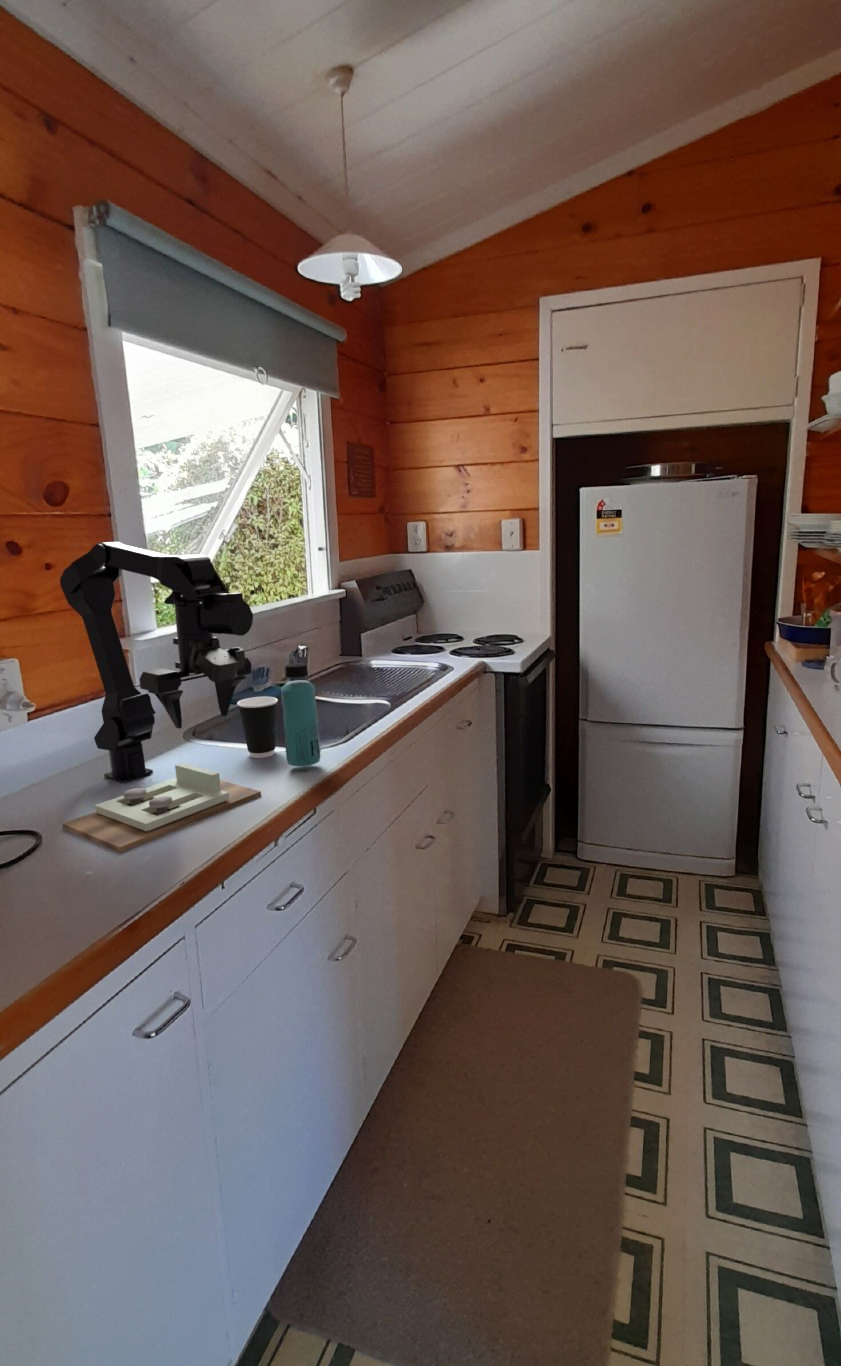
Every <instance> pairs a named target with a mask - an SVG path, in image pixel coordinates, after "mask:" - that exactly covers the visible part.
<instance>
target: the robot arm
mask: <svg viewBox="0 0 841 1366" xmlns="http://www.w3.org/2000/svg"><path fill="white" fill-rule="evenodd" d="M122 570H123V571H127V572H130V573H131V572H132V573H135V574H137V575H138V574H139V575H142V576H147V577H149V578H153V579H155V580H158V582H159V584H160V585H161V586H163V587H165V588H167V589H169V590H171V593H170V594H169V595H168V596H167V597H166V598H165V599H164V601H163V602H164V604H166V605H174V611H175V612H174V614H175V615H174V616H175V625H176V636H177V637H172V643H173V645H177V647H178V649H177V650H178V657H179V659H178V660H179V661H175V662H174V666H175V669H179V670H171V669H167V668H163V667H162V668H155V669H149V670H144V671H143V672H142V673H141V675H140V676H139V687H140V689H141V690H146V691H147V692H146V693H142V692H140V690H138V689H137V688H136V687H135V685H134V682H133V678H132V676H131V672H130V669H129V666H128V662H127V658H126V655H125V652H124V650H123V649H124V648H123V646H122V642H121V639H120V636H119V631H118V628H117V626H116V622H115V618H114V616H113V612H112V610H113V605H114V602H115V598H116V590H115V583H117V581H118V580H119V579H120V577H122ZM59 584H60V587H61V590H62V592H63V594H64V596H65V599H66V602H67V604H68V605H69V607H71V608H72V609H73V610H74V611H75V612H76V613H77V614H78V615H79V616H80V617H81V618H82V620H83V624H84V628H85V631H86V633H87V636H88V641H89V643H90V647H91V650H92V653H93V656H94V660H95V664H96V667H97V670H98V674H99V676H100V680H101V684H102V686H103V689H104V692H105V693H104V694H105V695H104V698H103V699H104V700H103V704H102V706H101V707H102V708H101V716H102V721H103V723H102V725H101V726H100V728H99V729H98V731H97V732H96V734H95V736H94V737H93V739H94V743H95V745H96V747H97V749H99V750H103V751H108V756H109V763H110V772H106V773H104V774H103V777H104V778H106V779H110V780H113V781H116V782H120V783H127V782H129V781H132V780H135V779H138V778H142V777H145V776H148V775H150V774H154V770H153V769H151V768H146V763H145V753H144V748H143V741H147V740H151V739H152V735H153V728H154V725H155V723H156V719H155V715H156V711H155V709H154V707H153V704H152V700H151V696H150V695H149V693H150V694H153V695H155V696H156V698H157V700H158V701H159V702H160V703H161V704H162V706H163V708H164V709H165V711H166V713H167V714H168V716H169V718H170V719H171V721H172V724H173V725H174V726H175V728H176V729H179V730H180V729H182V726H183V725H182V724H183V723H182V722H183V719H182V707H181V696H182V694H183V693H184V690H182V689H179V688H180V687H181V685H182V683H183V682H187V681H192V680H197V679H200V678H201V679H202V678H205V677H207V678H208V680H209V681H211V682H214V686H215V692H216V697H217V703H218V710H219V711H220V714H221V716H222V717H227V715H228V713H229V709H230V706H231V703H232V700H233V695H234V693H235V691H236V688H237V686H238V685H239V684H240V683H241V682H242V681H243V680H246V679H247V675H250V674H253V665H252V662H251V661H250V659H249V658H248V657H246V654H245V649H244V648H242V647H241V646H234V647H231V648H230V649H229V648H227V649H222V648H221V645H220V640H219V637H218V636H214V634H215V635H216V634H217V635H225V636H226V635H229V636H241V637H242V636H245V635H247V633H249V632H250V630H251V628H252V625H253V621H254V613H253V611H252V608H251V606H250V605H249V603H248V602H247V601H245V600H244V595H243V593H242V592H232V593H230V591H229V589H228V588H227V586H226V584H225V583H224V581H223V580H222V579H221V577H220V575H219V573H218V572H217V570H216V569H215V567H214V565H213V563H212V560H211V558H210V557H209V556H207V555H205V554H166V553H161V552H157V551H153V550H149V549H144V548H141V547H140V548H139V547H136V546H132V545H127V544H124V543H122V542H120V541H107V542H106V541H105V542H98V543H97V544H94V545H93V546H92V547H91V549H90V550H89V551H88V552H87V553H85V554H83V555H82V556H80V557H78V558H77V559H75V560H74V561H73V562H71V563H70V564H69V566H67V567H66V568H64V569H63V572H62V574H61V576H60V578H59Z"/></svg>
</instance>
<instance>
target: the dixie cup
mask: <svg viewBox="0 0 841 1366" xmlns="http://www.w3.org/2000/svg"><path fill="white" fill-rule="evenodd" d="M278 701H279V700H278V698H276V697H273V696H254V697H248V698H244V699H240V700H238V701H237V703H236V705H237V706H238V708H239V714H240V718H241V723H242V729H243V733H244V737H245V742H246V748H247V751H248V753H249V756H250V757H251V758H254V759H263V758H264V759H265V758H268V757H272V756H273V755H274V754H275V749H276V740H277V738H276V737H277V707H278V705H277V703H278Z"/></svg>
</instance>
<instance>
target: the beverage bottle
mask: <svg viewBox="0 0 841 1366" xmlns="http://www.w3.org/2000/svg"><path fill="white" fill-rule="evenodd" d="M284 668H285V669H284V675H285V677H286V678H302V677H306V676H307V677H308V675H309V671H308V666H307V663H305V662H294V663H289V664H286V665H285V667H284ZM280 693H281V705H282V716H283V721H282V722H283V732H284V733H283V734H284V735H283V736H284V742H285V743H284V750H285V755H286V761H287V764H288V765H289V766H292V767H293V766H294V767H309V766H312V765H316V764H318V763H319V762H320V761H321V754H322V753H321V746H320V736H319V733H320V730H319V723H318V722H319V721H318V715H319V714H318V709H317V708H318V707H317V702H316V686H315V685H314V684H313V683H312V682H311V681H309V680H303V679H298V680H297V679H295V680H290V681H287V682H286V683H285V684H283V686H282V687H281V689H280Z"/></svg>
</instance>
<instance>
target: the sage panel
mask: <svg viewBox="0 0 841 1366" xmlns="http://www.w3.org/2000/svg"><path fill="white" fill-rule="evenodd" d="M174 769H175V776H176V777H175V778H172V779H168V780H165V781H162V782H159V783H157V784H154V785H151V786H148V787H145V788H143V789H146V795H145V796H144V797H141V800H143V801H145V800H148V799H151V798H153V799H154V798H157V797H163V796H168V797H171V798H172V804H171V805H169V806H167V809H172V808H174V807H177V806H179V808H177V809H174V810H171V811H169V812H166V813H164V814H161V815H158V816H156V815H154V814H152V813H154V812H156V808H151V807H150V806H149V801H150V800H149V801H146V802H143V803H140V804H137V805H135V806H132V807H131V806H128V805H127V804H130V803H131V801H130V799H125V798H124V795H121V796H119V797H115V798H113V799H109V800H105V801H104V802H100V803H97V804H95V805H94V808H95V812H96V813H99V814H101V815H104V816H107V817H109V818H112V819H115V820H117V821H120V822H123V823H125V824H128V825H131V826H133V827H136V828H139V829H141V830H144V831H149V830H152V829H155V828H157V827H160V826H162V825H165V824H167V823H170V822H172V821H175V820H178V819H180V818H183V817H185V816H188V815H190V814H193V813H195V812H198V811H201V810H203V809H206V808H208V807H211V806H213V805H216V804H218V803H221V802H224V801H226V800H229V792H226V791H222V790H221V787H220V772H218V771H213V770H210V769H206V768H202V767H199V766H194V765H191V764H188V763H184V762H181V763H177V764H175V765H174Z"/></svg>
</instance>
